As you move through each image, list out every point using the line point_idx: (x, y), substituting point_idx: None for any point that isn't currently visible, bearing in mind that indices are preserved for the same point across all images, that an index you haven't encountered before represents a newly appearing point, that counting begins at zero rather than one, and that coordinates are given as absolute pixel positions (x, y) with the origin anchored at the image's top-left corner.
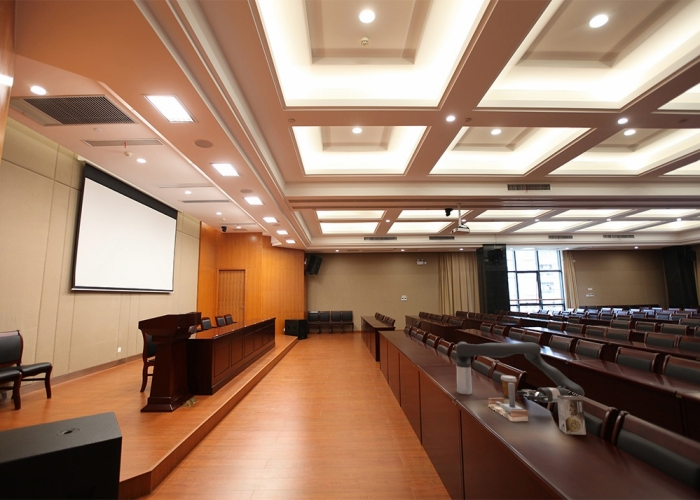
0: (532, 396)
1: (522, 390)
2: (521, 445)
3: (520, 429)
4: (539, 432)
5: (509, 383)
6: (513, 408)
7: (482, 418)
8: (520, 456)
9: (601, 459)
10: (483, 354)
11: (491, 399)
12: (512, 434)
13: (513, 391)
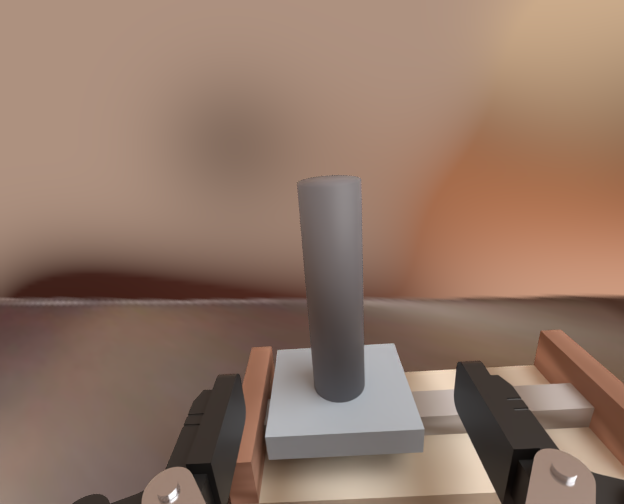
0: (197, 445)
1: (552, 449)
2: (55, 324)
3: (150, 386)
4: (41, 466)
5: (328, 177)
6: (288, 368)
7: None
8: (25, 299)
9: None
10: None
11: (550, 345)
12: (135, 335)
13: (304, 258)
